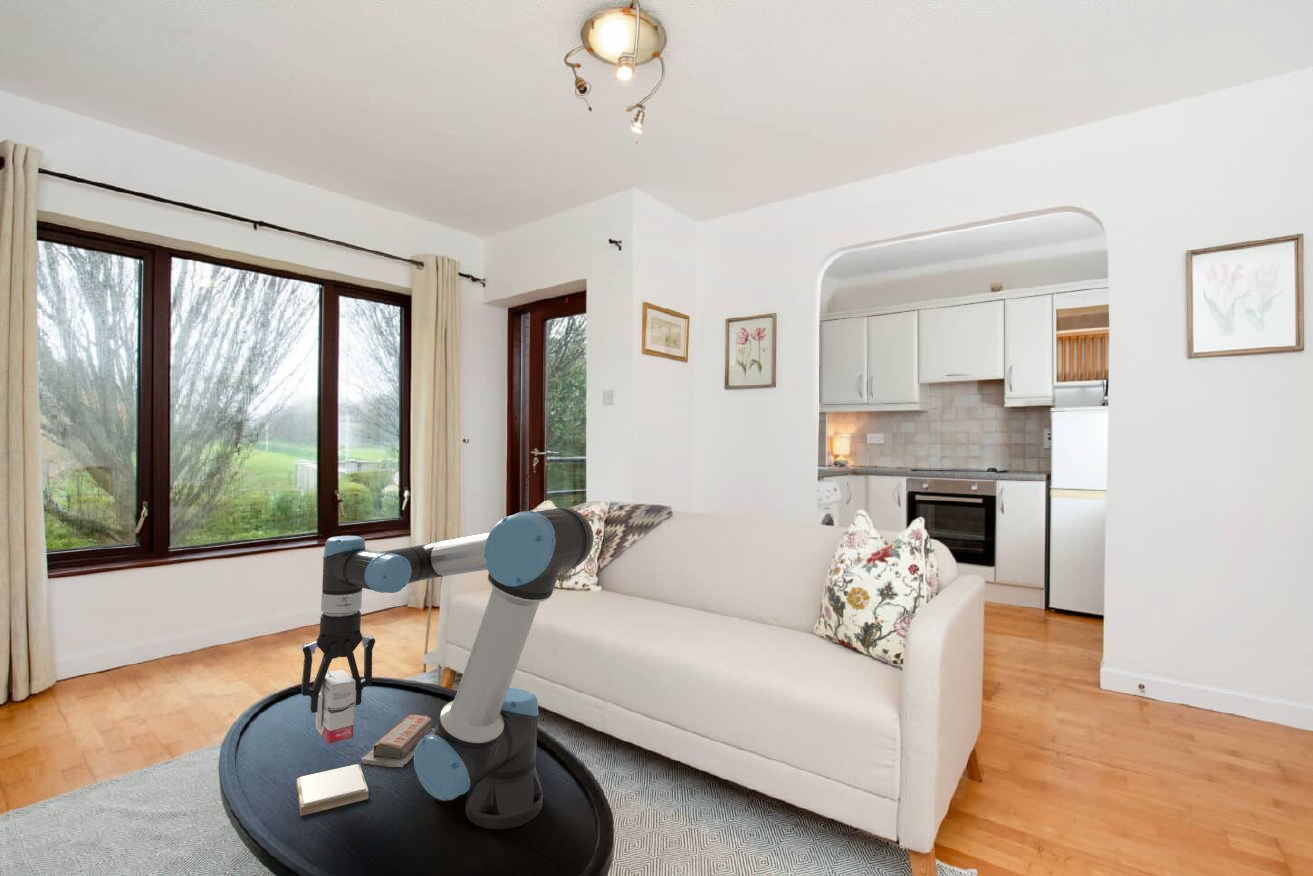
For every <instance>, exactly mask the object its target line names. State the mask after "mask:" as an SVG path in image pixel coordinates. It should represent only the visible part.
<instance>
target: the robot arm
mask: <svg viewBox="0 0 1313 876" xmlns="http://www.w3.org/2000/svg"><path fill="white" fill-rule="evenodd" d="M365 543H366V540H365V538H364V537H361V536H359V535H358V536H357V535H340V536H338V535H337V536H332V537H329V538H327V540H326V542H325V543H324V544H325V545H324V552H323V557H322V559H323V561H322V563H323V564H322V583H321V584H322V585H321V589H322V592H321V600H320V601H321V602H320V604H321V605H320V611H321V612H322V613H321V615H320V621H319V634H318V636H317V638H316V641H313V642H311V643H303V645H301V647H302V652H303V655H304V658H303V667H302V676H301V677H302V678H301V685H300V686H301V688H300V689H301V690H300V691H301V695H302V696H303V697H306V696H308V697H310V707H309V708H310V712H311V714H314V713H315V729H316V730H317V731H318V730H319V729H321V718H322V699H323V697H322V693H321V692H320V690H321V687H322V684H323V681H324V679H325V676H326V673H327V672H328V670H329V668H330V665H331V664H332V660H334V659H337V658H347V662H348V666H349V669H350V673H351V677H352V678H353V679H354V680H355V681H356V685H355V704H354V724H355V721H356V720H355V719H356V706H360V705H361V703H362V697H363V695H362V693H363V690H364V688H365V687H369V686H371V685H372V684H373V649H374V647H375V645H376V639H375V638H374V636H373V635H368V636H367V635H366V636H365V635H362V632H361V622H362V621H361V620H362V619H361V618H362V612H361V611H360V610H361V609H362V597H363V589H365V590H370V591H374V592H375V593H380V594H381V593H383V594H385V593H387V594H394V593H398V592H400V591H402V589H404V588H405V587H406V586H407V585H408V584H412V583H416V582H420V581H425V580H431V579H437V578H443V577H446V576H447V577H448V576H453V575H454V576H455V575H463V574H467V573H468V574H469V573H475V572H480V571H481V572H482V571H488V574H487V580H488V582H489V584H490V586H491V587H492V589H491V592H490V595H489V599H488V602H487V603H486V604H487V605H486V607H485V609H484V613H483V615H482V618H481V621H480V625H479V628H478V630H477V633H476V637H475V639H474V641H473V644H472V647H471V650H470V653H469V656H468V659H467V663H466V665H465V667H464V670H463V673H462V677H461V680H460V682H459V685H458V689H457V692H456V694H455V697H454V699H453V700H452V701H450V702H448V703H446V704H445V705H444V706H443V707H442V709H441V712H440V715H439V717H438V720H437V723H436V725H435V728H434V729H435V730H434V731H433V733H432V734H428V735H426V736H424V738H423V739H421V740H420V741H419V742H418V744H417V746H416V748H415V751H414V757H413V765H414V770H415V773H416V775H417V778H418V781H419V783H420V784H421V785H422V787H423V788H424V790H425V791H426V792H427V793H428V794H430V796H431V795H432V796H433V797H435V798H437V799H440V800H452V799H454V798H456V797H458V796H459V795H465V794H466V793H467V795H466V798H465V799H466V800H465V815H466V817H467V819H468V821H469V822H471V823H473V824H474V825H476V826H477V827H480V828H483V829H484V828H485V829H488V830H506V829H508V830H509V829H513V828H516V827H519V826H522V825H525V824H527V823H529V822H531V821H532V820H534V818H536V817H537V816H538V815H539V813H540V812H541V811H542V809H543V808H542V807H543V800H544V799H543V797H544V796H543V795H544V794H543V789H542V786H541V783H540V778H539V774H538V772H537V768H536V766H537V765H536V762H537V760H536V759H537V746H538V745H537V740H538V738H537V737H538V725H539V724H538V722H539V715H540V713H539V700H538V698H537V697H536V695H535V694H534V693H532V692H530V691H528V690H525V689H522V688H518V687H517V688H514V687H510V686H511V684H512V681H513V678H514V675H515V673H516V669H517V667H518V664H519V662H520V658H521V656H522V653H523V650H524V648H525V645H526V642H527V639H528V636H529V634H530V631H531V627H532V625H533V623H534V620H535V617H536V614H537V611H538V609H539V606H540V603H541V602H544V601H546V600H549V599H550V597H551V596H552V595H553V592H554V590H555V586H556V584H557V581H558V578H559V575H560V573H563V572H566V571H571V570H573V569H575V568H576V567H578V566H580V565H581V564H582V563H584V562H585V561H586V559H587V558H588V557H589V555H590V554H591V552H592V549H593V545H594V531H593V528H592V525H591V523H590V522H589V520H588V519H587V517H586V516H584V514H582V513H581V512H579V511H577V510H575V509H572V508H568V507H557V508H550V509H542V510H538V511H537V510H536V511H533V510H528V511H525V510H524V511H520V512H517V513H515V514H512V515H511V514H510V515H509V516H508V515H507V516H505V517H503V518H502V519H501V520H500V521H498V522H497V523H496V524H494V526H492V528H491V529H490V531H489V532H484V533H478V534H475V535H468V536H463V537H457V538H453V539H448V540H443V541H434V542H429V543H425V544H420V545H415V546H409V547H403V548H397V549H396V548H395V549H390V550H383V551H376V550H369V549H366V544H365ZM360 643H361V645H362V647H363V678H362V679H361V677H360V673H359V669H358V665H357V661H356V656H355V654H354V651H355V650H356V649H357V647H358V646H359V644H360ZM317 648H319V650H321V652H322V653H323V655H322V658H321V662H320V665H319V667H318V671H317V673H316V676H315V679H314V681H313V684H312V686H311V674H312V664H313V655H314V654H315V653H316V649H317ZM432 796H431V797H432ZM540 810H541V811H540Z"/></svg>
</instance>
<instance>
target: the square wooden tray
mask: <svg viewBox="0 0 1313 876" xmlns="http://www.w3.org/2000/svg"><path fill="white" fill-rule="evenodd" d="M363 773H364V772H363V770H362V767H361V764H360V763H359V764H358V763H356V764H351V765H347V766H342V767H338V768H334V769H330V770H325V771H320V772H317V773H316V772H315V773H311V774H307V775H302V776H300V777H297V778H296V792H297V800H298V806H299V813H300V814H299V815H300V817H302V816H305V815H309V814H314V813H318V812H322V811H326V810H330V809H334V808H337V807H341V806H344V805H345V806H346V805H349V804H353V803H356V802H357V803H358V802H360V801H361V802H362V801H365V800H369V792H370V791H369V788H368V785H367V782H366V779H365V776H364V774H363Z"/></svg>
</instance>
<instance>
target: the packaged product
mask: <svg viewBox="0 0 1313 876" xmlns="http://www.w3.org/2000/svg"><path fill="white" fill-rule="evenodd" d="M432 721H433V720H432V717H429V715H423V714H422V715H420V714H408V715H407V716H406V717H405V718H403V720H402V721H400V722H399V723H398V724H397V725H395V726H394V727H393V728H391V729H390V730H389V731H388V732H387V733H386V734H385V735H383V736H382V737H381V738H380V739H378V740H377V741H376V742H375V743H374V745H373V748H372V749H370V751H369V752H368V753H366V754H365V755H364V756H363V757H361V758H360V759H361V764H362V763H363V764H364V765H369V764H370V765H369V766H377V765H378V766H379V767H387V768H394V767H401V768H400V769H403V768H404V767H405V766H406V765H407V764H408V763H409V762H410V760H411V759H412V758H413V759H414V757H413V756H414V751H415V748H416V746H417V744H418V742H419V741H420V740H421V739H423V738H424V736H426V735H428V734H432V733H433V731H434V730H435V728H432ZM405 764H406V765H405ZM404 765H405V766H404ZM403 766H404V767H403ZM402 767H403V768H402Z"/></svg>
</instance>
